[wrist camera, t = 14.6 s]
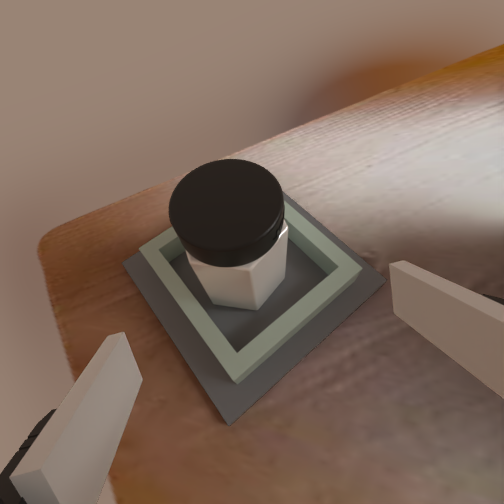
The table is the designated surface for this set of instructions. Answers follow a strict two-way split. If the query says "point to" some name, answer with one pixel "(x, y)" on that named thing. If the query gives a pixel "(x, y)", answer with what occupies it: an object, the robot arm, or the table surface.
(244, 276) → the jar
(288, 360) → the green and grey tray
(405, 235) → the table surface
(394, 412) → the table surface
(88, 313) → the table surface
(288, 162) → the table surface
